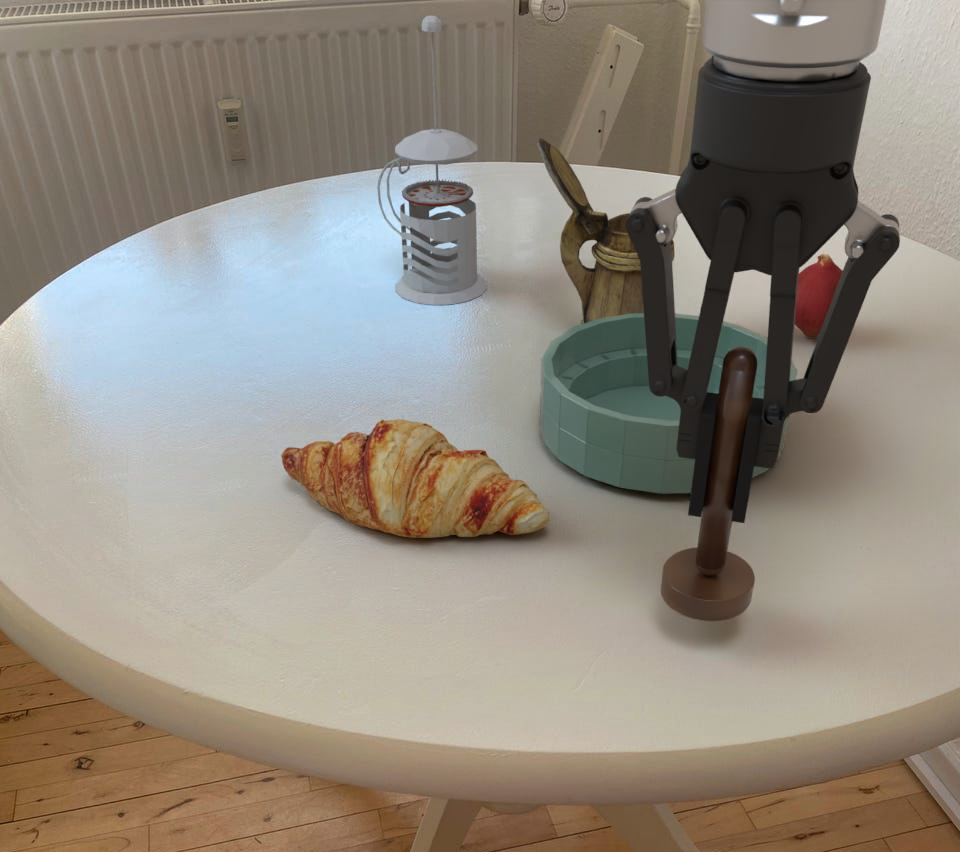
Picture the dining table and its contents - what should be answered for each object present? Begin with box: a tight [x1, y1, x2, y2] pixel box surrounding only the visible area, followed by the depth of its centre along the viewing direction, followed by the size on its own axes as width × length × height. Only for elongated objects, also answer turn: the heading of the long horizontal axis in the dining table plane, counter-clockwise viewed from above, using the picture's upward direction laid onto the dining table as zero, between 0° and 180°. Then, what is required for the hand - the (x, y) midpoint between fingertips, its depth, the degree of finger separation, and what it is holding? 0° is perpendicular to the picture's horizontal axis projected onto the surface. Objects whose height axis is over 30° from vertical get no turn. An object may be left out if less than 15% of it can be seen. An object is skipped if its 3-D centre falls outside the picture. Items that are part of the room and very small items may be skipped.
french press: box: [376, 15, 488, 306], centre depth 104 cm, size 10×12×25 cm
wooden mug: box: [537, 137, 675, 325], centre depth 95 cm, size 9×14×18 cm, turn 82°
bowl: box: [539, 313, 798, 495], centre depth 85 cm, size 20×20×6 cm
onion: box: [794, 253, 843, 339], centre depth 99 cm, size 6×6×8 cm
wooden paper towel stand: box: [660, 346, 757, 622], centre depth 61 cm, size 6×6×16 cm
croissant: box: [280, 419, 550, 539], centre depth 77 cm, size 21×10×8 cm, turn 71°
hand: (718, 506), depth 62 cm, fingers closed on wooden paper towel stand, 2 cm apart
